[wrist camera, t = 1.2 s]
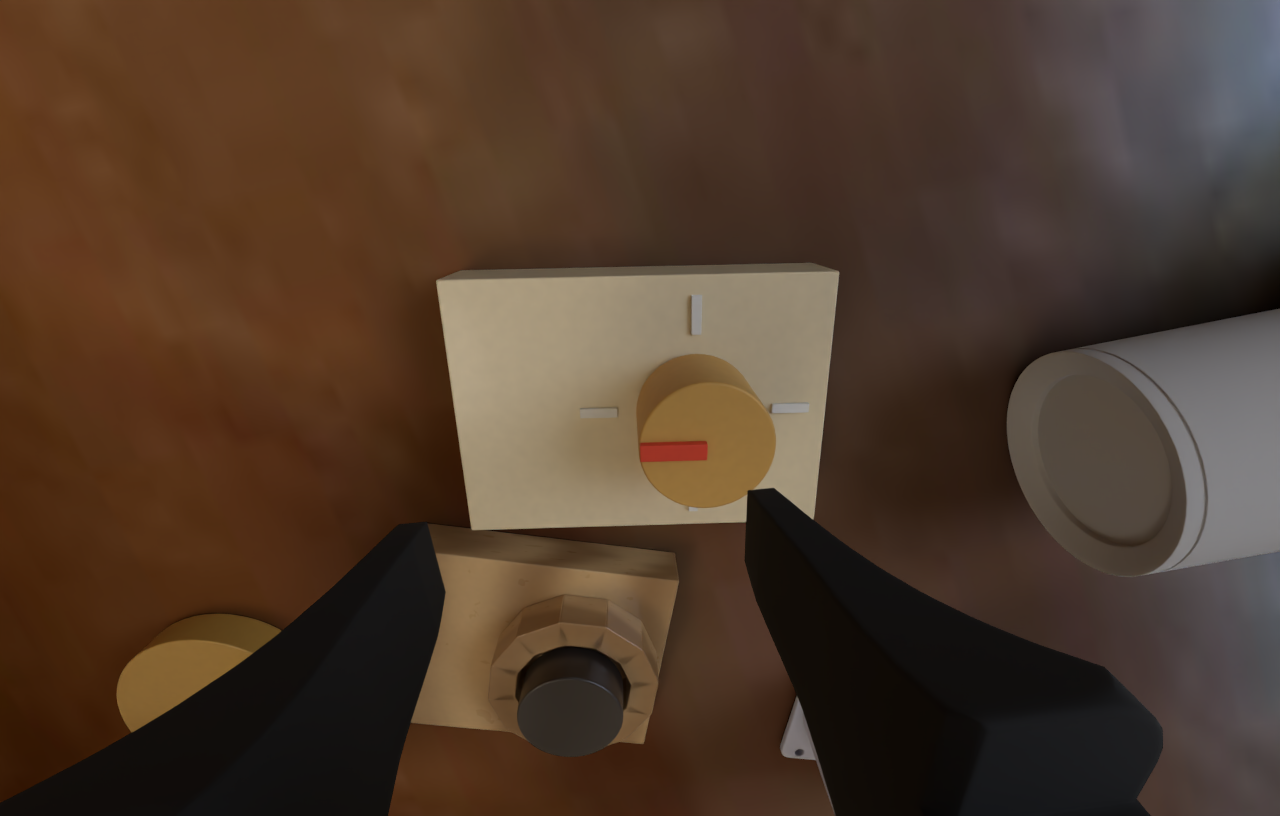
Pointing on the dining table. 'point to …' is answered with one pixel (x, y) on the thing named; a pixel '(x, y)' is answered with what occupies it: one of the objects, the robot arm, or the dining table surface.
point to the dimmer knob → (703, 432)
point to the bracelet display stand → (186, 662)
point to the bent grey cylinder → (1155, 446)
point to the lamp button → (571, 702)
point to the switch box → (542, 622)
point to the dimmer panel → (623, 381)
